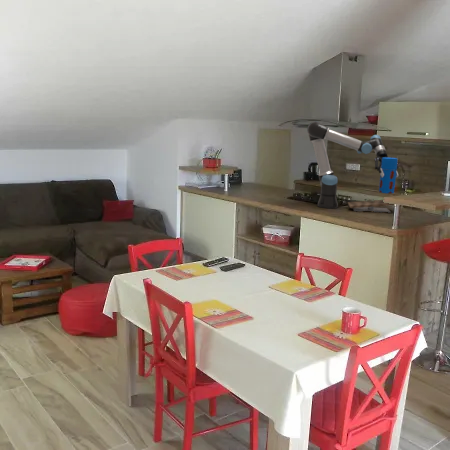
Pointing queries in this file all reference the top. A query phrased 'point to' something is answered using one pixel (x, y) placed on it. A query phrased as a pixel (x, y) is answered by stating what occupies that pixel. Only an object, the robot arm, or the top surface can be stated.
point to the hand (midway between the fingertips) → (390, 176)
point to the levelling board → (368, 203)
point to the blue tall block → (388, 175)
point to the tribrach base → (372, 209)
